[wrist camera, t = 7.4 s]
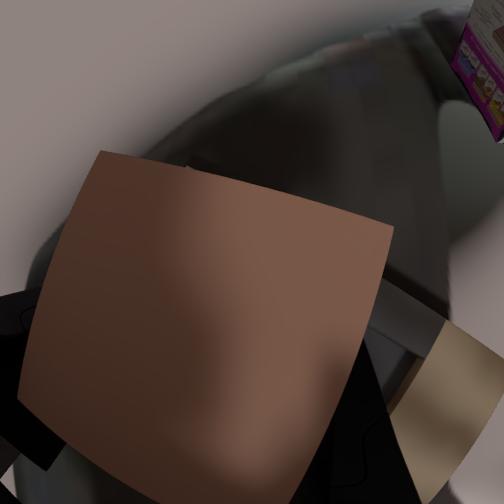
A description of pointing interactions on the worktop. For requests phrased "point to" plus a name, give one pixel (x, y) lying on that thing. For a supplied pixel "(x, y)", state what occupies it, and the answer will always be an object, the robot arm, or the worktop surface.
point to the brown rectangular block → (199, 330)
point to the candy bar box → (484, 62)
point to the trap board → (430, 384)
